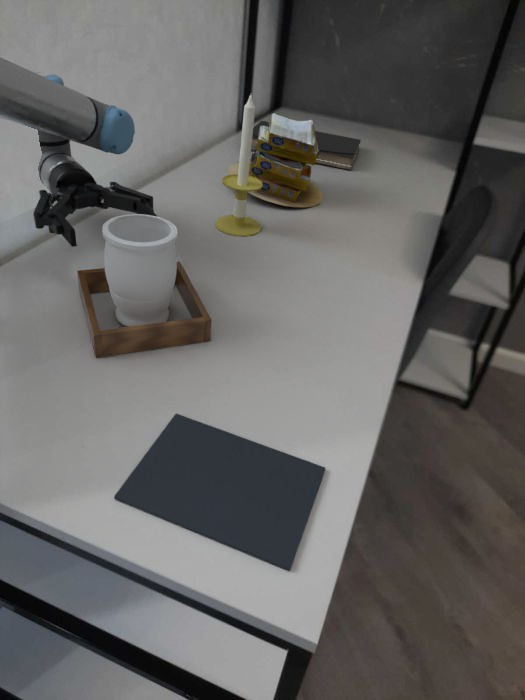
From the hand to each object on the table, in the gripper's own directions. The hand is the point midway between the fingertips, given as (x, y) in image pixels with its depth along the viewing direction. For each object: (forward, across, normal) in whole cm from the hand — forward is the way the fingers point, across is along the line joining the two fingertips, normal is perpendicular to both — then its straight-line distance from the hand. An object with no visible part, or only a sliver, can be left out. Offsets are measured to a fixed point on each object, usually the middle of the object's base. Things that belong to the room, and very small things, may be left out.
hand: (116, 231), depth 82 cm
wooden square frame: (+9, 0, -10) cm, 14 cm away
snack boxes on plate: (-28, -54, -11) cm, 61 cm away
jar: (+9, 0, -11) cm, 14 cm away
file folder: (-53, -83, -11) cm, 99 cm away
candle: (-13, -33, -11) cm, 37 cm away
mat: (+44, +6, -10) cm, 45 cm away
